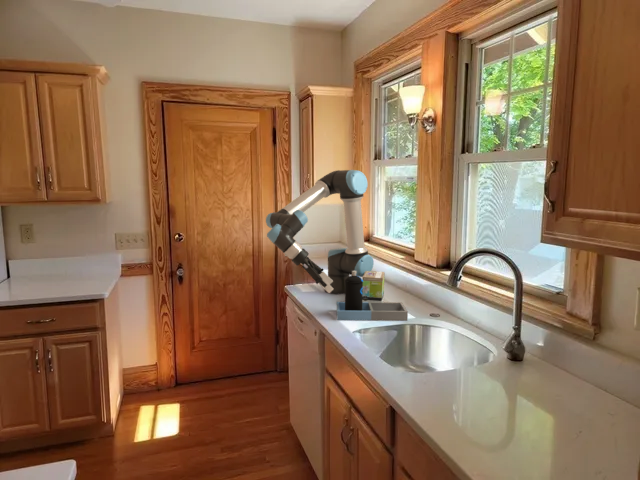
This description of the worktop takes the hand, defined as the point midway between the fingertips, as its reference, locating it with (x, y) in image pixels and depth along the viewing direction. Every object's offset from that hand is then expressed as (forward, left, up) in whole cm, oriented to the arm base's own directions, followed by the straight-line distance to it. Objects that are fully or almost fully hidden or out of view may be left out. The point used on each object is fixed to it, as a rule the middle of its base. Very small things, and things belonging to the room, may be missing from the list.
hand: (331, 287), depth 192 cm
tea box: (-19, +21, -13) cm, 31 cm away
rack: (0, +18, -13) cm, 22 cm away
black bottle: (0, +10, -13) cm, 16 cm away
